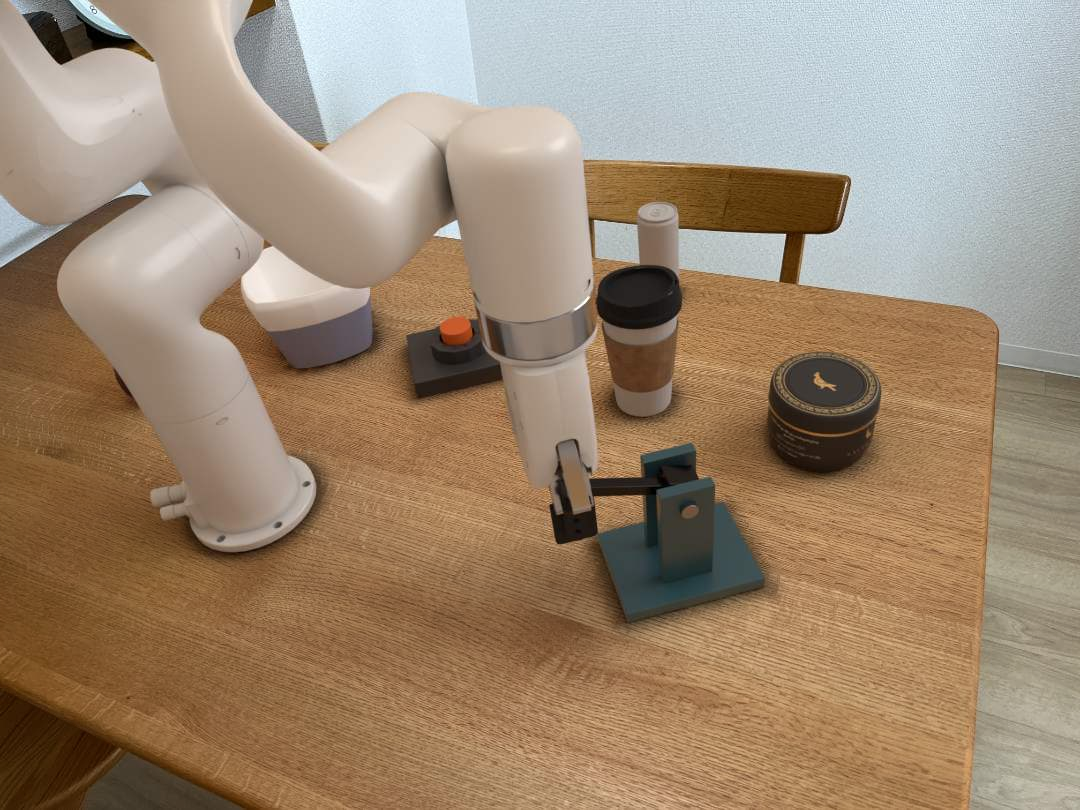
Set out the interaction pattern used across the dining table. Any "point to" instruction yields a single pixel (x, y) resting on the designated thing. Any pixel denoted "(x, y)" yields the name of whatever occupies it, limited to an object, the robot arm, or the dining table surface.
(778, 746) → the dining table surface
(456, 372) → the button block
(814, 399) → the jar
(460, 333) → the button
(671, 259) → the beverage can
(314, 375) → the dining table surface
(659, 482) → the lever
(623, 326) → the coffee cup
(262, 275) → the bowl
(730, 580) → the lever base
